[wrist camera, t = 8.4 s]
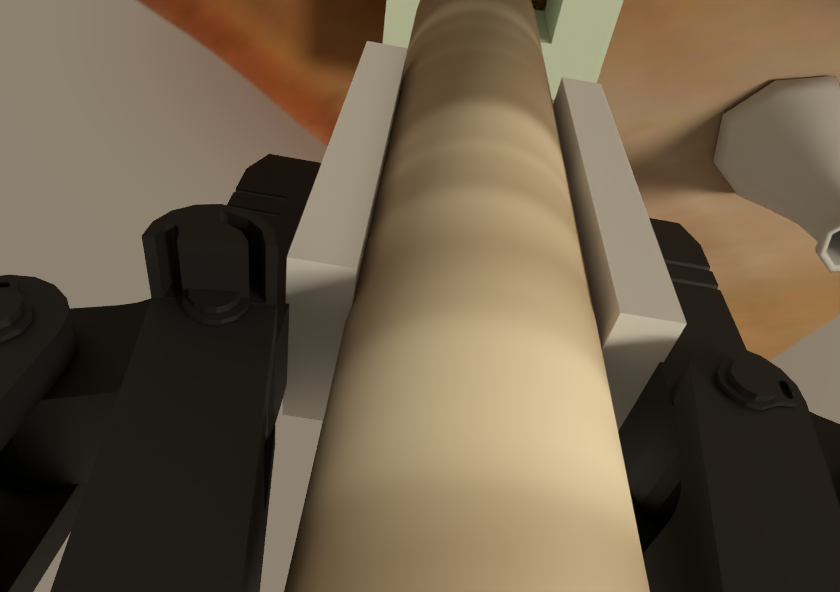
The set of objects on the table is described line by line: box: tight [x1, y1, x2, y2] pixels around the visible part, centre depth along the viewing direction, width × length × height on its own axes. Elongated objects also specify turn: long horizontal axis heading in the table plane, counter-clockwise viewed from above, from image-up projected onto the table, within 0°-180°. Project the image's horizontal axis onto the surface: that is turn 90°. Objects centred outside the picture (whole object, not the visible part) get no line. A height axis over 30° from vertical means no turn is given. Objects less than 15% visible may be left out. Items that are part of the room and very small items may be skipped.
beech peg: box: [284, 0, 650, 592], centre depth 10 cm, size 3×3×15 cm
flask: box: [713, 76, 840, 272], centre depth 32 cm, size 7×7×10 cm
